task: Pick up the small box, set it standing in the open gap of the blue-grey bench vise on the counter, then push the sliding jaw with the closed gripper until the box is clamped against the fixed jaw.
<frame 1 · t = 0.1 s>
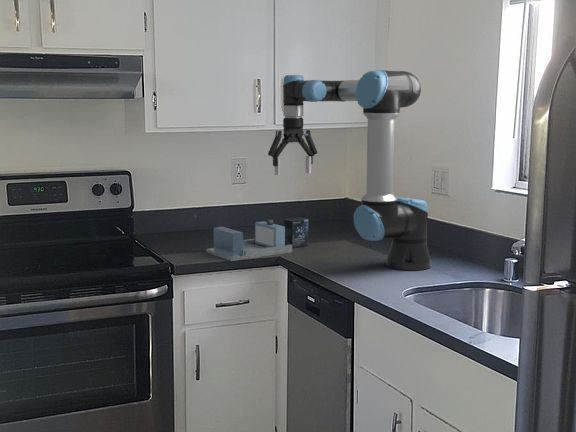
hand: (292, 174, 281), 28 cm above the worktop, fingers open, 13 cm apart
vise base: (249, 252, 274), on the worktop
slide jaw: (269, 232, 278), point 6 cm above the worktop, slide at 0.0 cm
box: (296, 246, 286), on the worktop
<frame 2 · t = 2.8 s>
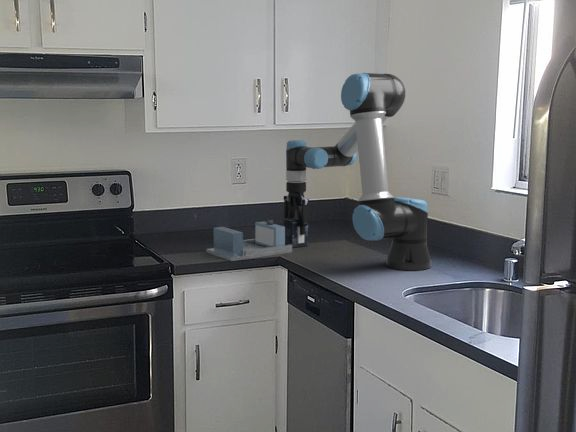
hand: (296, 241, 285), 2 cm above the worktop, fingers closed on box, 6 cm apart
box: (296, 246, 286), on the worktop, touching gripper
everything else where it was.
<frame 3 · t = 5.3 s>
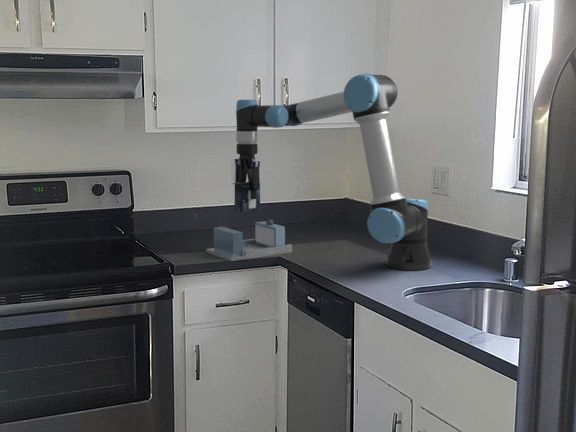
hand: (247, 206, 271), 17 cm above the worktop, fingers closed on box, 6 cm apart
box: (247, 212, 271), point 15 cm above the worktop, touching gripper
everything else where it was.
when the fingers open (4 cm above the worktop, at t = 8.0 s): box drops 1 cm, resting on vise base.
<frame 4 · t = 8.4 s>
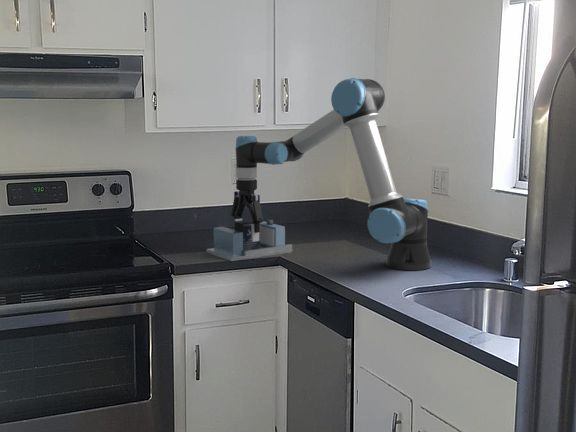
hand: (247, 238, 272), 5 cm above the worktop, fingers open, 11 cm apart
box: (247, 250, 273), point 1 cm above the worktop, touching vise base
everything else where it was.
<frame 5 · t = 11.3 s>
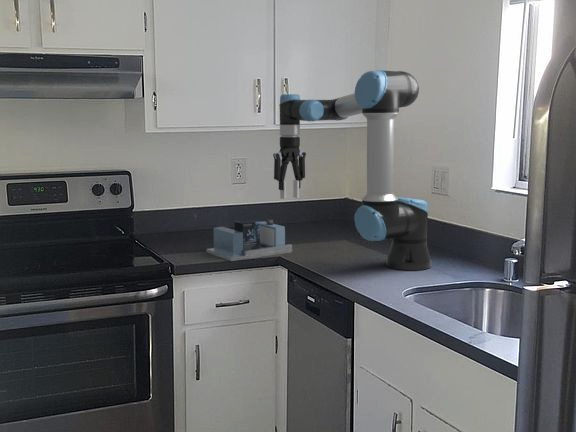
hand: (289, 197, 281), 19 cm above the worktop, fingers open, 5 cm apart
nothing on the worktop moved.
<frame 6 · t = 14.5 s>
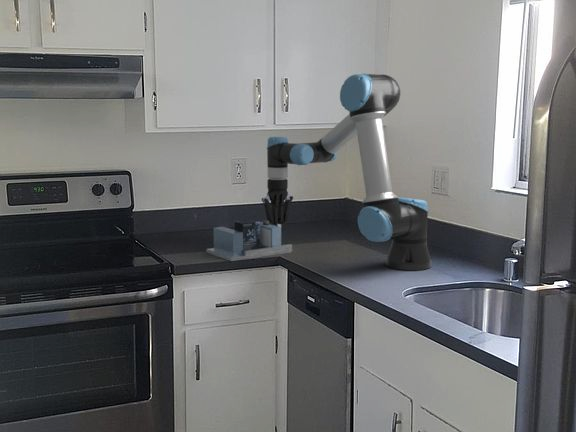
hand: (277, 240, 281), 3 cm above the worktop, fingers closed
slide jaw: (265, 233, 277), point 6 cm above the worktop, slide at 1.7 cm, touching gripper
everything else where it was.
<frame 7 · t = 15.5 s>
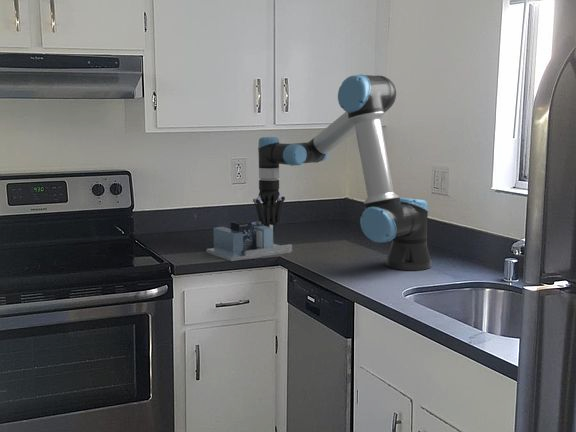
hand: (269, 241, 279), 3 cm above the worktop, fingers closed
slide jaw: (257, 234, 275), point 6 cm above the worktop, slide at 5.2 cm, touching box, gripper
box: (243, 250, 272), point 1 cm above the worktop, touching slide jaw, vise base
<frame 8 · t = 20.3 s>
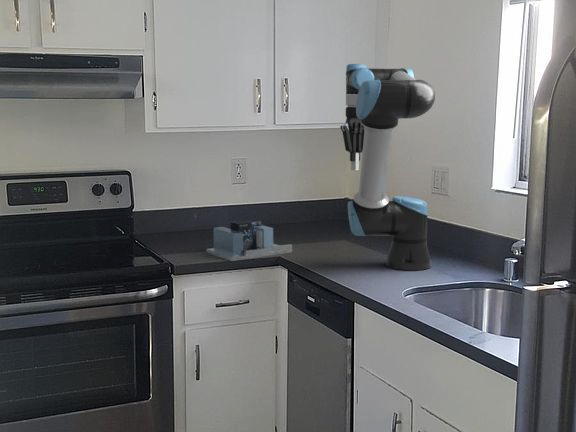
hand: (354, 169, 279), 29 cm above the worktop, fingers closed
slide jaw: (257, 234, 275), point 6 cm above the worktop, slide at 5.2 cm
box: (243, 250, 272), point 1 cm above the worktop, touching vise base
at the end: box inside the target area (0.6 cm from its centre), point 1.0 cm above the worktop; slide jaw slide at 5.2 cm; box tilted 0° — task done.
